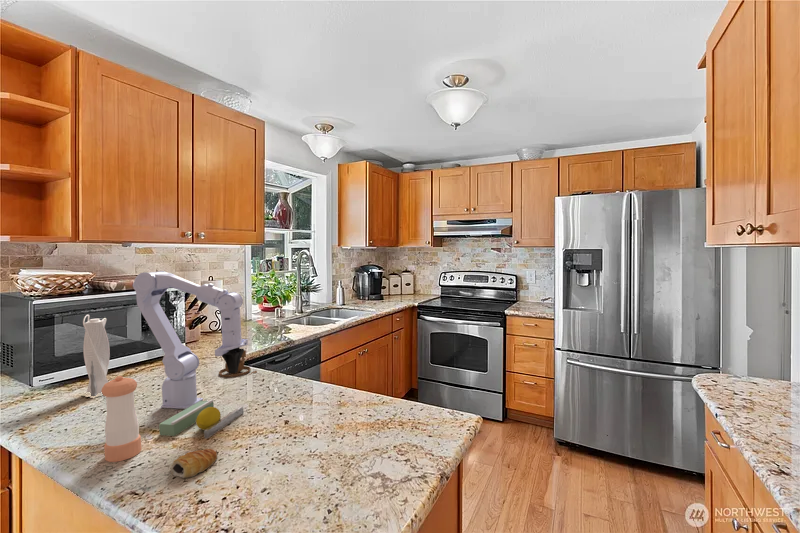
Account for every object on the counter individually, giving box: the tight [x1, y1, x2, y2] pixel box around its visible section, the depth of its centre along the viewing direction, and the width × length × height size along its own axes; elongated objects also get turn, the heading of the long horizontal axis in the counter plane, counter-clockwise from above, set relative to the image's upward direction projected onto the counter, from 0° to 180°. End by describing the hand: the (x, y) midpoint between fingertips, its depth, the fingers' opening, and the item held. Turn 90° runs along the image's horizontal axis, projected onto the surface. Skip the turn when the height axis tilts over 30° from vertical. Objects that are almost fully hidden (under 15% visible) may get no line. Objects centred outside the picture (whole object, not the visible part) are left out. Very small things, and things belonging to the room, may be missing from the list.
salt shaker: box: [101, 375, 142, 463], centre depth 95 cm, size 7×7×19 cm
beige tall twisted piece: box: [82, 314, 111, 396], centre depth 138 cm, size 8×8×28 cm
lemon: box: [195, 406, 221, 431], centre depth 108 cm, size 6×6×8 cm
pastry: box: [169, 448, 218, 479], centre depth 89 cm, size 9×7×4 cm
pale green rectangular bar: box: [158, 399, 215, 437], centre depth 112 cm, size 4×16×4 cm, turn 169°
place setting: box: [218, 349, 258, 378], centre depth 162 cm, size 18×20×6 cm
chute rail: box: [203, 405, 244, 439], centre depth 110 cm, size 1×16×2 cm, turn 170°
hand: (233, 372), depth 126 cm, fingers closed
